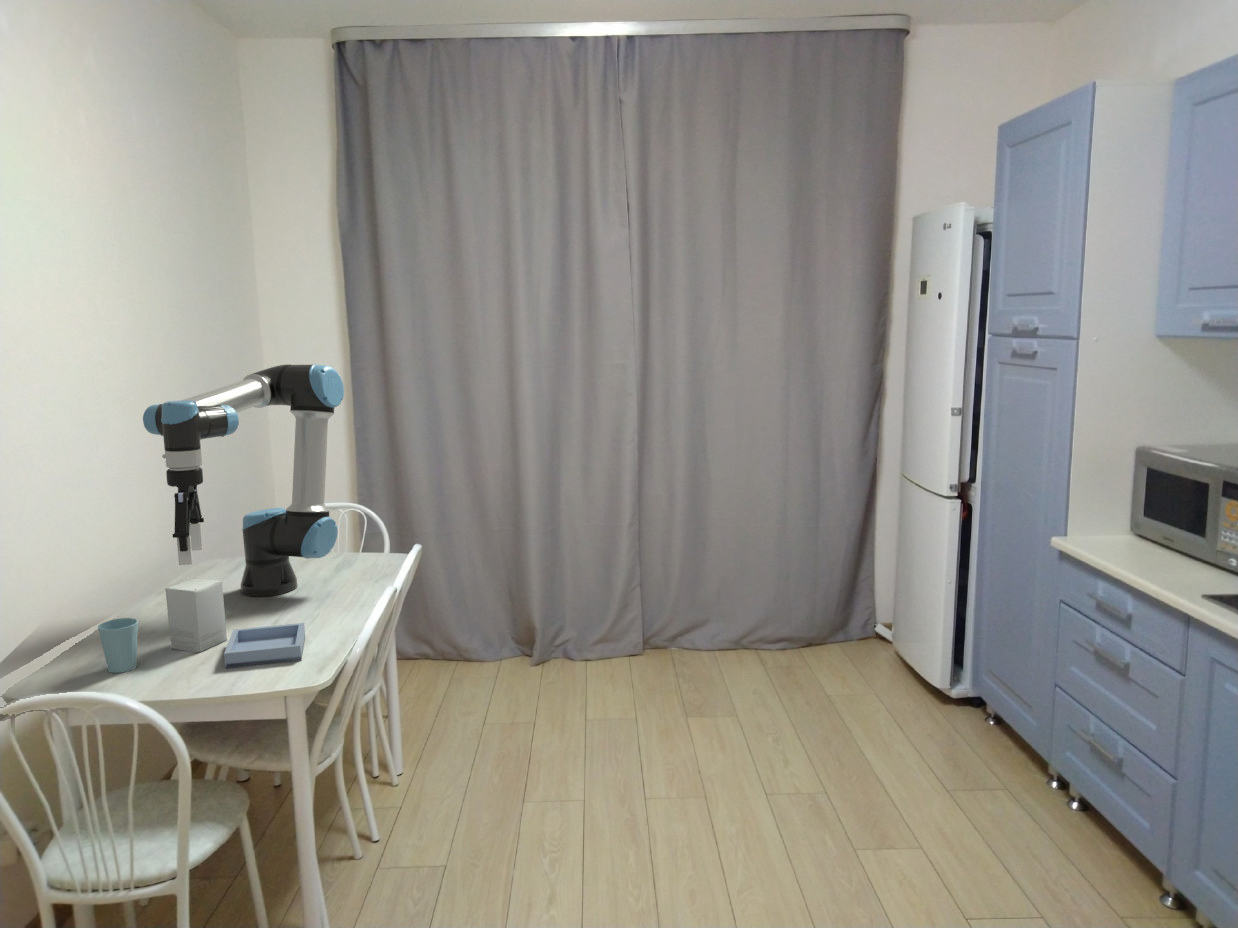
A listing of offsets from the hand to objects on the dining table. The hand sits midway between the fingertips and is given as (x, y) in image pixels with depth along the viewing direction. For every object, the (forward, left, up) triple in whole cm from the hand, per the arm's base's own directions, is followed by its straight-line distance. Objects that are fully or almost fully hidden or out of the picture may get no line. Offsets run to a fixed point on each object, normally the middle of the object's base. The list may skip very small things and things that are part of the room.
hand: (191, 557), depth 206 cm
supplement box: (0, 0, -22) cm, 22 cm away
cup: (+11, -14, -22) cm, 28 cm away
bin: (+10, +16, -22) cm, 29 cm away
